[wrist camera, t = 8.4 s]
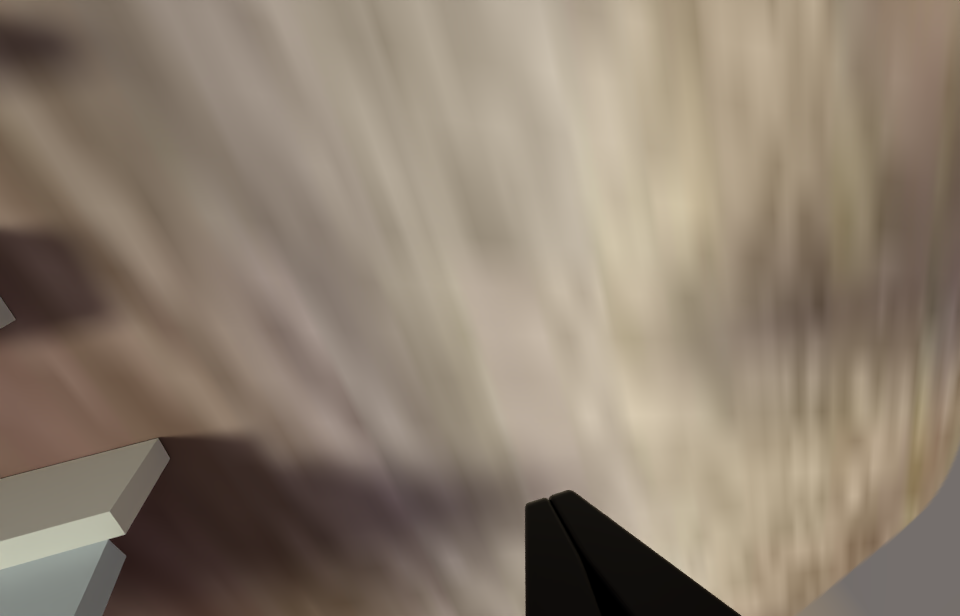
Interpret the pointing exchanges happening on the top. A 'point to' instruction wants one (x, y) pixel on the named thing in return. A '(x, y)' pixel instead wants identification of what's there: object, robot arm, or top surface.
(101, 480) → the white slat
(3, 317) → the grey bar
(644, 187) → the top surface
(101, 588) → the cover
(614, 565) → the robot arm
